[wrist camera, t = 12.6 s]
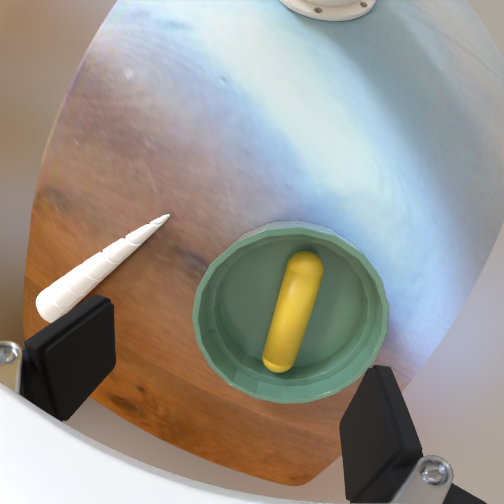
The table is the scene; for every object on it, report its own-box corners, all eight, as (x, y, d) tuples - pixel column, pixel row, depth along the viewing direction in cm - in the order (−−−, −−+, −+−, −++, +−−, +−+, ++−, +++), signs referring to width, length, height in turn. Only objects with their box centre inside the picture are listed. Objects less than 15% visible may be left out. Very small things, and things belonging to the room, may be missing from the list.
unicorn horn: (188, 244, 31) (170, 254, 27) (65, 316, 36) (45, 329, 32) (167, 206, 31) (147, 209, 26) (50, 288, 36) (28, 299, 31)
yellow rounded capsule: (290, 243, 29) (291, 251, 26) (325, 251, 29) (331, 260, 26) (260, 357, 32) (257, 375, 29) (290, 363, 32) (290, 382, 29)
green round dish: (225, 202, 30) (211, 205, 24) (395, 245, 28) (415, 257, 23) (198, 352, 34) (183, 378, 29) (341, 385, 33) (347, 414, 27)
